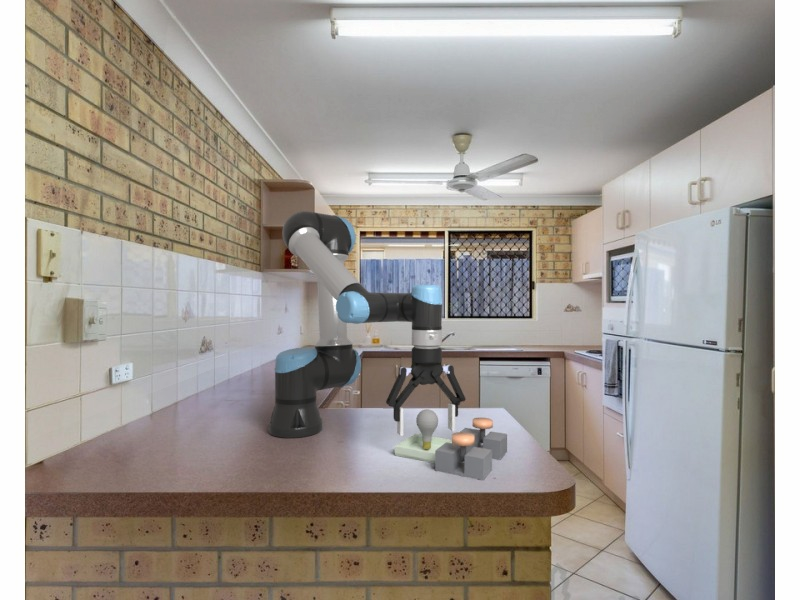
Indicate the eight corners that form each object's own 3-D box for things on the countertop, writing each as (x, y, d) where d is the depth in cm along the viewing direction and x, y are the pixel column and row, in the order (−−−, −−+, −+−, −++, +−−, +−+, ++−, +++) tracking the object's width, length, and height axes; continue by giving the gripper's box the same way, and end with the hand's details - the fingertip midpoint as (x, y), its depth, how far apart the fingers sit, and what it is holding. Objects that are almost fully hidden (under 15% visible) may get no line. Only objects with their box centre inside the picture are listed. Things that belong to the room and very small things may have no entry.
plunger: (448, 462, 97) (448, 437, 97) (456, 455, 101) (456, 431, 101) (470, 466, 94) (470, 440, 94) (477, 458, 99) (477, 434, 99)
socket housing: (435, 470, 98) (435, 450, 98) (465, 444, 115) (465, 427, 115) (483, 480, 93) (483, 458, 93) (507, 451, 110) (507, 433, 110)
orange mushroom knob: (469, 443, 109) (469, 421, 109) (476, 437, 114) (476, 416, 114) (489, 446, 107) (489, 424, 107) (495, 440, 111) (495, 419, 111)
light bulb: (441, 452, 108) (441, 411, 108) (419, 454, 106) (420, 412, 106) (433, 445, 113) (433, 406, 113) (413, 447, 111) (413, 407, 112)
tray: (394, 455, 107) (394, 446, 107) (415, 441, 118) (415, 433, 118) (438, 463, 102) (438, 454, 102) (456, 449, 112) (456, 440, 112)
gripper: (382, 349, 102) (381, 441, 102) (478, 346, 110) (478, 432, 110) (374, 346, 110) (373, 431, 110) (465, 343, 117) (465, 423, 117)
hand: (426, 432), depth 110 cm, fingers open, 13 cm apart
